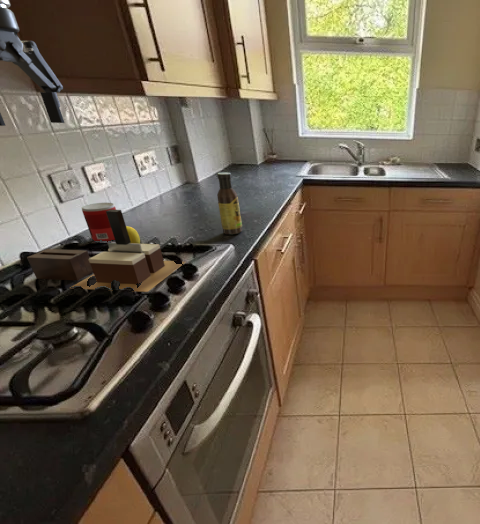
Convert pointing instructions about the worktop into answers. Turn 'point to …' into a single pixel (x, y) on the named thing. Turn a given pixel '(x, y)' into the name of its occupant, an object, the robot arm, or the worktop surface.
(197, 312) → the worktop surface
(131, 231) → the lemon
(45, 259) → the knife block
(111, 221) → the scraper
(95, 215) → the canned food
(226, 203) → the sauce bottle
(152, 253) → the cake
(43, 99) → the robot arm
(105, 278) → the cake
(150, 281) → the cutting board
